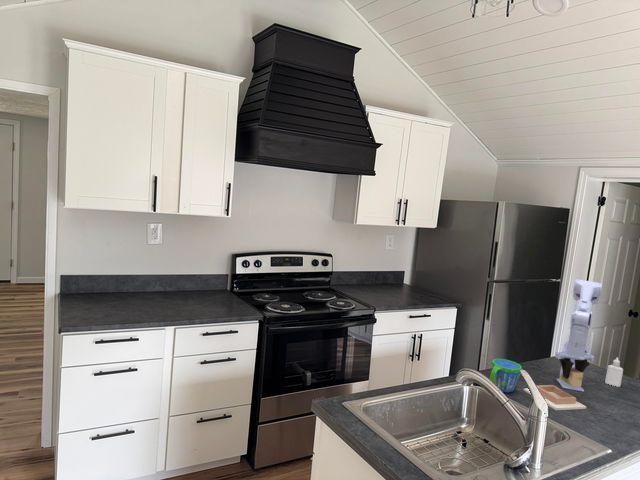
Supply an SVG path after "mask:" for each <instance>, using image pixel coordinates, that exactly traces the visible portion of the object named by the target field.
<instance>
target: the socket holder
mask: <svg viewBox="0 0 640 480" xmlns="http://www.w3.org/2000/svg"><path fill="white" fill-rule="evenodd" d="M536 386H537V388H538V389H539V391H540V393H541V394H542V396H543V397H544V398H545V400H546V402H547V404H548V405H547V406H548V407H550V408H551V409H552V410H555V411H569V410H570V411H572V410H586V409H587V406H586V405H584V404H583V403H580V402H579V401H577V397H576V396H574V395H572V394H570V393H568V392H567V391H565V390H563V389H561V388H560V387H557V386H555V385H554V384H548V385H546V384H545V385H542V384H541V385H536ZM528 388H529V387H527V388H523V391H524V392H525V393H527V394H528V395H530V396H532V395H531V393H530V391H529V389H528Z"/></svg>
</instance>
